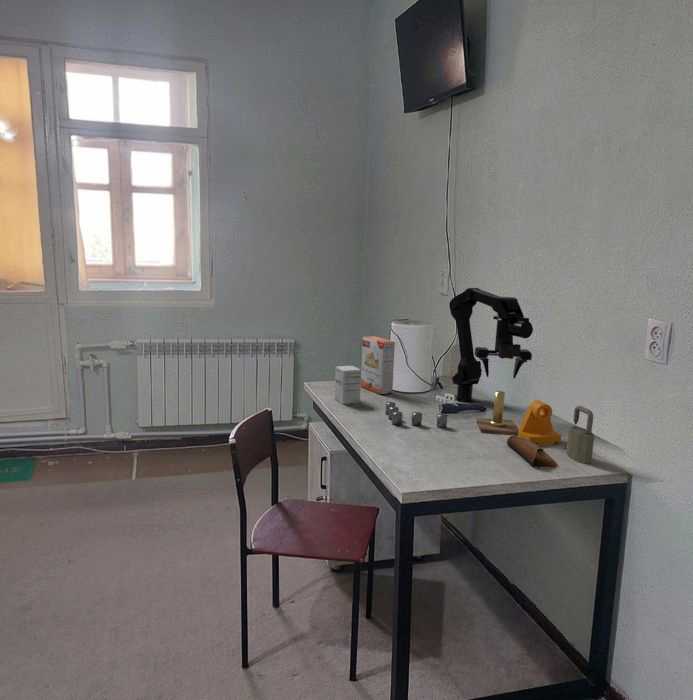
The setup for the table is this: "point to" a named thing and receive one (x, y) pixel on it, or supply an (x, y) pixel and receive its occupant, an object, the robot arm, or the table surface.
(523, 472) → the table surface
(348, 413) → the table surface
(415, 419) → the dark gray domed cylinder
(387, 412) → the dark grey domed cylinder
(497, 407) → the brass pin
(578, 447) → the padlock
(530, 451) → the sunglasses case
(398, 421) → the cylinder
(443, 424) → the cylinder
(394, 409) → the dark grey domed cylinder
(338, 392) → the supplement box
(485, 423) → the board
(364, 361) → the cracker box
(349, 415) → the table surface
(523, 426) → the bracket
